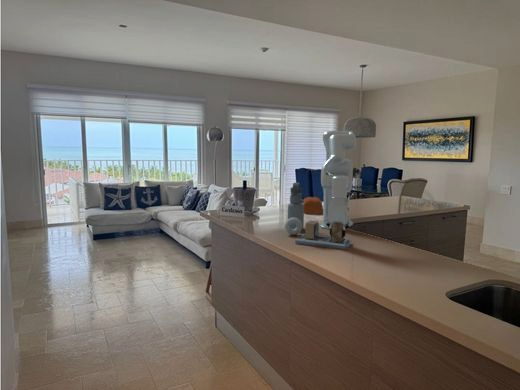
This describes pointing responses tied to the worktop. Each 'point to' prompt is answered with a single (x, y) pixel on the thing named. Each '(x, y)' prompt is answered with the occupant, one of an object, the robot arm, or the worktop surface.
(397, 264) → the worktop surface
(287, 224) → the donut
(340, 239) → the tan wooden block
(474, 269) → the worktop surface
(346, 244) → the rail
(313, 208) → the bread
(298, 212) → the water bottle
